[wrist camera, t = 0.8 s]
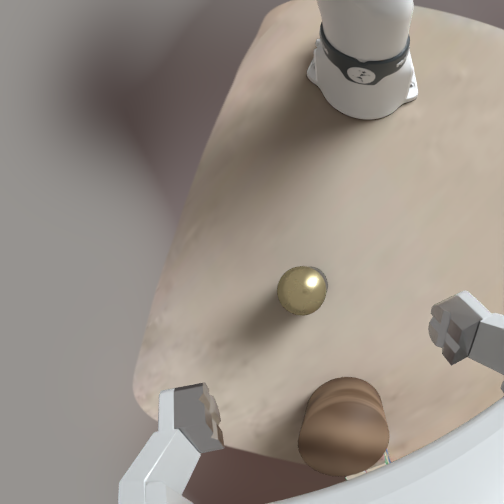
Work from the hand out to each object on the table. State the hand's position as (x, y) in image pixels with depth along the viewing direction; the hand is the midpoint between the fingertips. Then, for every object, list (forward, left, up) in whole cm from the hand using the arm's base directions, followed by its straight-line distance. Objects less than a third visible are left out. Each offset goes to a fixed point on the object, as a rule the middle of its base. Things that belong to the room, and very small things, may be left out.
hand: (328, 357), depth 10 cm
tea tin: (+1, -4, -37) cm, 37 cm away
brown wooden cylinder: (+19, +7, -37) cm, 42 cm away
